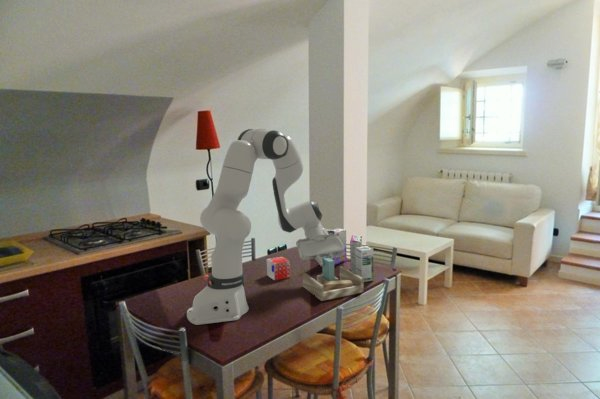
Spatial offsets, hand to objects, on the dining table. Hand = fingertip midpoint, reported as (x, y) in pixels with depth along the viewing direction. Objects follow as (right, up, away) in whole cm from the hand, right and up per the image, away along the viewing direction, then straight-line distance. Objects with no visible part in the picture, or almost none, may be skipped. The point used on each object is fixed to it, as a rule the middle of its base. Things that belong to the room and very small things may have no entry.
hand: (327, 264), depth 178 cm
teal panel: (+1, -9, +1) cm, 9 cm away
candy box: (+5, -4, +32) cm, 33 cm away
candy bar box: (+15, -6, +18) cm, 24 cm away
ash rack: (+2, -10, -2) cm, 10 cm away
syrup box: (+17, -8, +8) cm, 20 cm away
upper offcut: (+4, -8, -6) cm, 11 cm away
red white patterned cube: (-21, -8, +15) cm, 27 cm away
